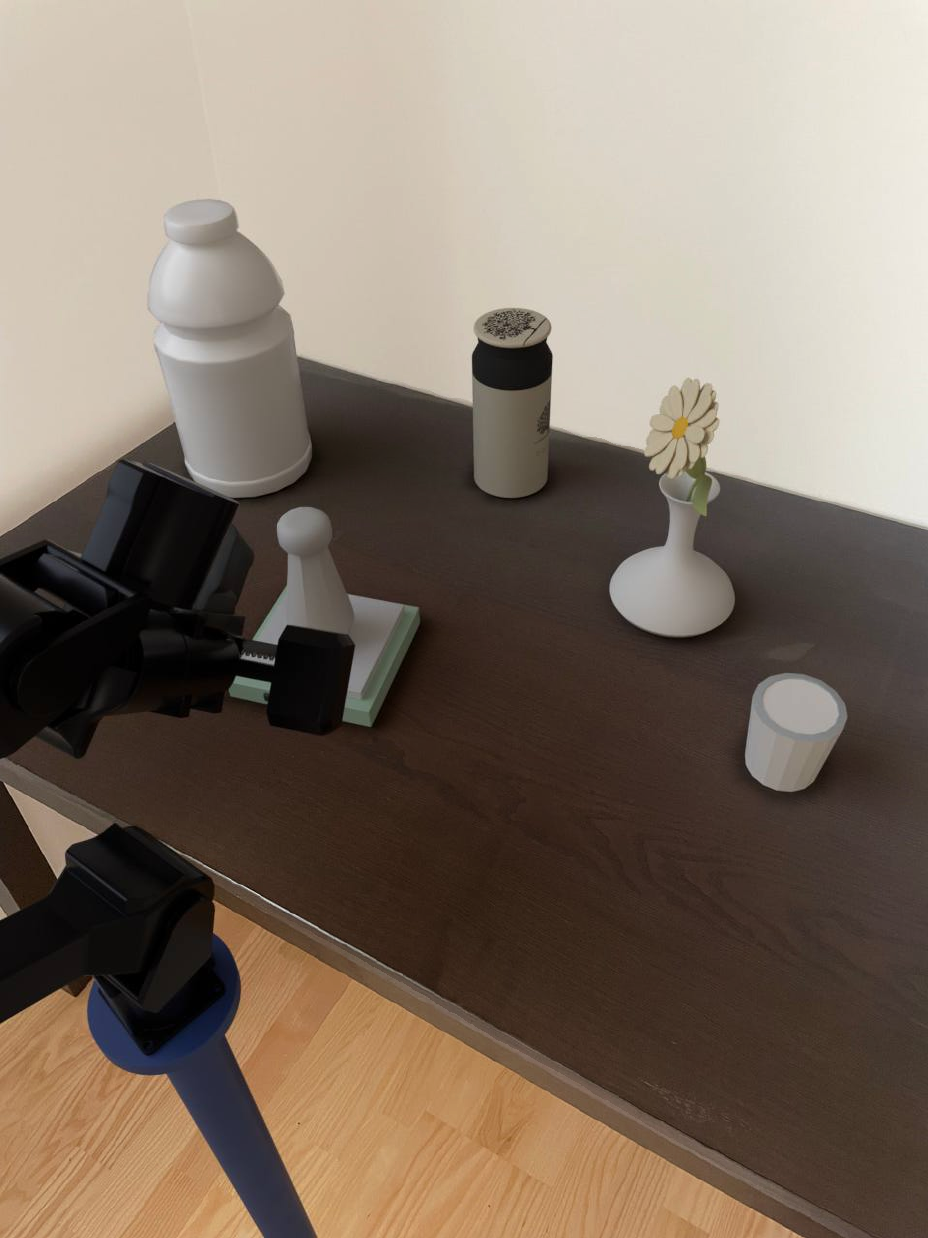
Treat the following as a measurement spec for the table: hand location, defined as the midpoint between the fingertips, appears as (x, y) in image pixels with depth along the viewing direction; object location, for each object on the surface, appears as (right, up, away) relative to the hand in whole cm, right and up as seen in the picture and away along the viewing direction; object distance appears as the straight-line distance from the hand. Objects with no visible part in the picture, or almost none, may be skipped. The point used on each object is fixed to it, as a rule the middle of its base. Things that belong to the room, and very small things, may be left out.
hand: (257, 658), depth 69 cm
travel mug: (+20, +18, +37) cm, 46 cm away
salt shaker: (+2, +1, +16) cm, 16 cm away
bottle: (-9, +20, +41) cm, 46 cm away
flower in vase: (+34, +3, +22) cm, 40 cm away
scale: (+2, -1, +18) cm, 18 cm away
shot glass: (+40, -9, +9) cm, 42 cm away
